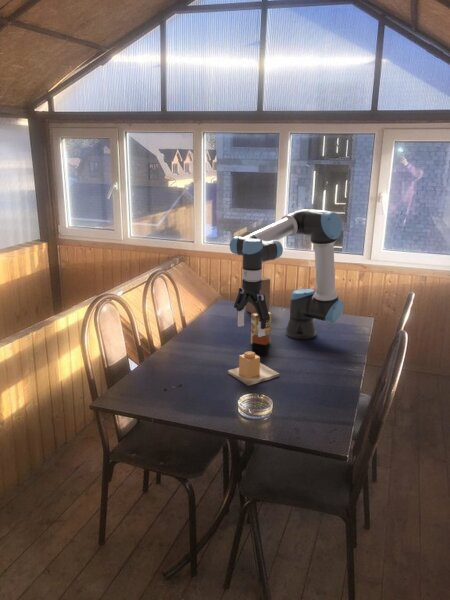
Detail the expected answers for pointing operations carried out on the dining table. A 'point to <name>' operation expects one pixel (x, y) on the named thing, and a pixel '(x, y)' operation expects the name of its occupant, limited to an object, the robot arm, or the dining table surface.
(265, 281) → the wooden block
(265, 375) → the birch board
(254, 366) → the tan toy brick
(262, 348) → the battery
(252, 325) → the candy box
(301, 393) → the dining table surface
